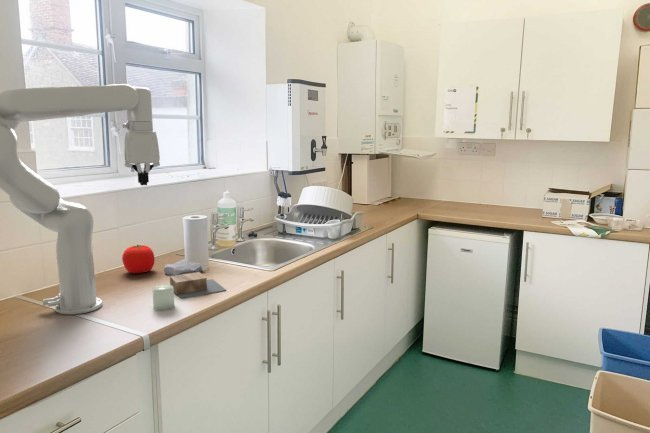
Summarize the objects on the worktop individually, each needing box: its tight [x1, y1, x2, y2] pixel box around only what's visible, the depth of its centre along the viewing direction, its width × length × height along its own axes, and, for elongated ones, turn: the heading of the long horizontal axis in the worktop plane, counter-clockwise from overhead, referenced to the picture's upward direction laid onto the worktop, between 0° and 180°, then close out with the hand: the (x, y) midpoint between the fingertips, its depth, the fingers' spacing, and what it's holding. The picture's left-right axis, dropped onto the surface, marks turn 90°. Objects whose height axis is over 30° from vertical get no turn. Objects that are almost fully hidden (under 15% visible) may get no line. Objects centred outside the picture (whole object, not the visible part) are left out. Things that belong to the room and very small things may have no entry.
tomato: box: [121, 244, 156, 274], centre depth 185 cm, size 11×12×10 cm
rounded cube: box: [152, 284, 175, 311], centre depth 150 cm, size 6×6×6 cm
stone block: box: [163, 258, 203, 276], centre depth 186 cm, size 12×5×10 cm
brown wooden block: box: [169, 272, 208, 295], centre depth 165 cm, size 4×8×10 cm
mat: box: [176, 278, 227, 299], centre depth 167 cm, size 15×14×1 cm
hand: (143, 184), depth 161 cm, fingers closed
